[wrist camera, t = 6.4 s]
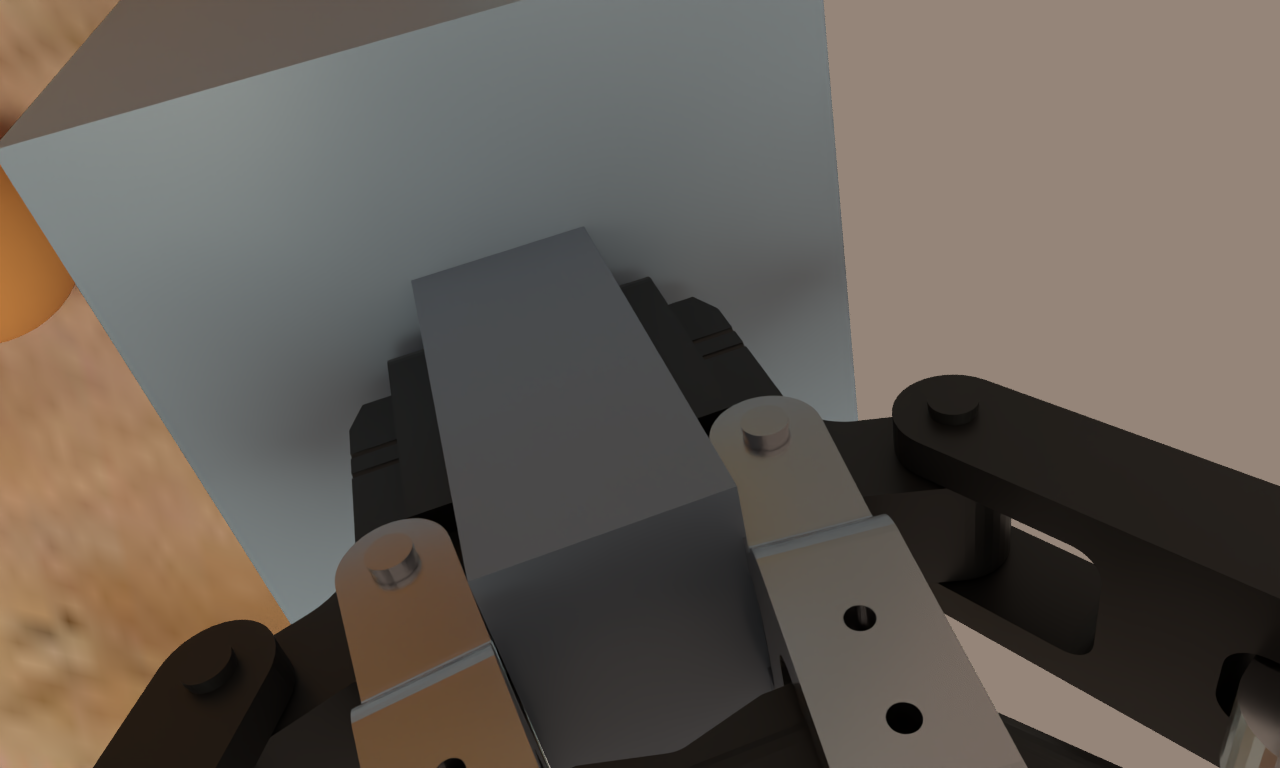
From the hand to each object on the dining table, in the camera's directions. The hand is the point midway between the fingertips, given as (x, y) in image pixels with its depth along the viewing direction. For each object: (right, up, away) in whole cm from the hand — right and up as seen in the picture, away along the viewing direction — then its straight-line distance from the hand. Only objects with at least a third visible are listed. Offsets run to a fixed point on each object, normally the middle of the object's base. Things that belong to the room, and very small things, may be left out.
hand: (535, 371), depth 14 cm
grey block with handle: (-2, +5, +8) cm, 9 cm away
